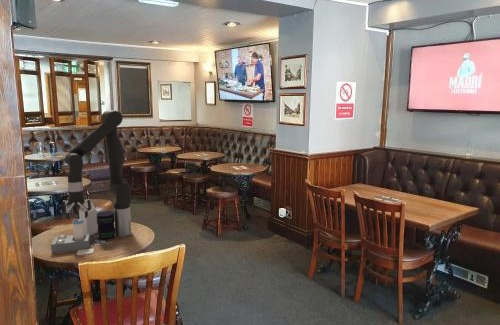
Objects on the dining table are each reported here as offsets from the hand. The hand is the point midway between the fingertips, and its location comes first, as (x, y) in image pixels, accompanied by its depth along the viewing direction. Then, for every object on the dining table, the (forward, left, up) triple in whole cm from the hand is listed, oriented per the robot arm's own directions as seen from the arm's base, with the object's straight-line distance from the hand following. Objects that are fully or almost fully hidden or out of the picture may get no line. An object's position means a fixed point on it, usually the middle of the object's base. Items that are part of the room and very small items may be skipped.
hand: (77, 218), depth 199 cm
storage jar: (-14, -10, -17) cm, 24 cm away
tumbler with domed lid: (0, 0, -16) cm, 16 cm away
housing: (+4, 0, -16) cm, 17 cm away
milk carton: (-3, -21, -17) cm, 27 cm away
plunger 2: (+9, +3, -16) cm, 19 cm away
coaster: (-4, +10, -16) cm, 20 cm away
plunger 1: (+9, -4, -16) cm, 19 cm away
